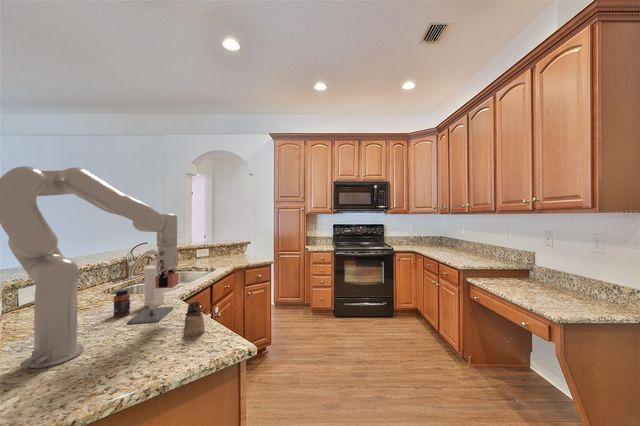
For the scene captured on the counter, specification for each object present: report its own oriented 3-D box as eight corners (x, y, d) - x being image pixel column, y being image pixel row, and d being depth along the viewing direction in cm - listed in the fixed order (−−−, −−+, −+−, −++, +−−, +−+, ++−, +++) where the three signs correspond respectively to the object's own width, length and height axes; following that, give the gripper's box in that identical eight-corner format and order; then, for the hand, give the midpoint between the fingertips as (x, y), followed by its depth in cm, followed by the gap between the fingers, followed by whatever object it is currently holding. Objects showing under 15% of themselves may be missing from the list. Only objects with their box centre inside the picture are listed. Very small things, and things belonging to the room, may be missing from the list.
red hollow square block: (172, 287, 107) (172, 275, 107) (155, 288, 106) (155, 276, 106) (178, 283, 114) (178, 272, 114) (162, 284, 113) (162, 273, 113)
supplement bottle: (133, 312, 120) (133, 288, 120) (122, 317, 114) (122, 292, 114) (121, 312, 120) (121, 288, 121) (110, 317, 115) (110, 291, 115)
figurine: (197, 327, 103) (197, 297, 103) (208, 331, 100) (208, 299, 100) (179, 334, 97) (179, 302, 97) (190, 338, 93) (190, 305, 94)
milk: (155, 302, 135) (155, 259, 136) (164, 303, 133) (164, 260, 134) (144, 305, 129) (144, 261, 130) (153, 306, 128) (153, 262, 128)
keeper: (158, 321, 109) (158, 306, 109) (127, 324, 107) (127, 309, 107) (173, 308, 125) (173, 295, 125) (145, 310, 123) (145, 297, 123)
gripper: (167, 244, 102) (167, 290, 102) (184, 240, 119) (184, 279, 119) (147, 244, 101) (146, 290, 101) (166, 241, 118) (166, 280, 118)
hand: (167, 284), depth 110 cm, fingers closed on red hollow square block, 6 cm apart
